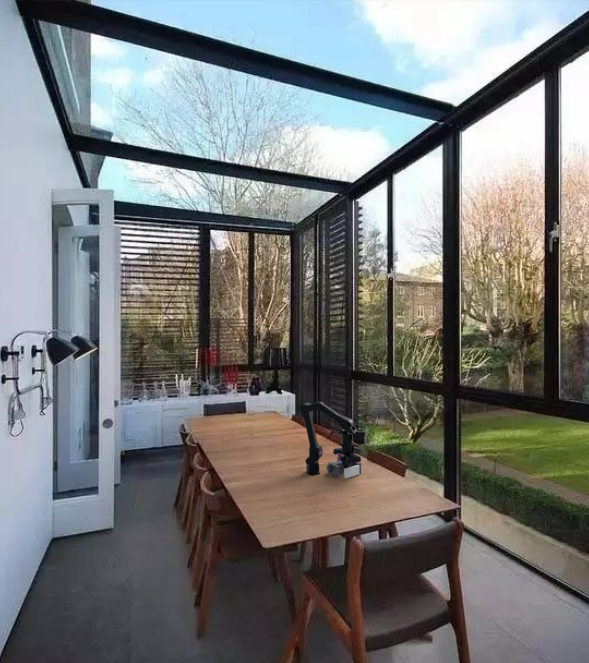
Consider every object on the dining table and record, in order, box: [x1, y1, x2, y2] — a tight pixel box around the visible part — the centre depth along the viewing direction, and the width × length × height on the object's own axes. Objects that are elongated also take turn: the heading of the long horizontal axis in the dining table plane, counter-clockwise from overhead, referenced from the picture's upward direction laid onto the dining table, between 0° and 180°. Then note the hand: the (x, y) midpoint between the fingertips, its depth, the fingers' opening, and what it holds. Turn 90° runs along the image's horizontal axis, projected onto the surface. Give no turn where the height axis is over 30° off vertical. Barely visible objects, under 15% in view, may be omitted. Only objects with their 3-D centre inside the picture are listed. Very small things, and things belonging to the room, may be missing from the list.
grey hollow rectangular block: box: [326, 460, 362, 479], centre depth 239 cm, size 17×9×6 cm, turn 117°
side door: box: [343, 465, 360, 479], centre depth 234 cm, size 11×1×5 cm, turn 130°
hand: (346, 470), depth 233 cm, fingers closed
